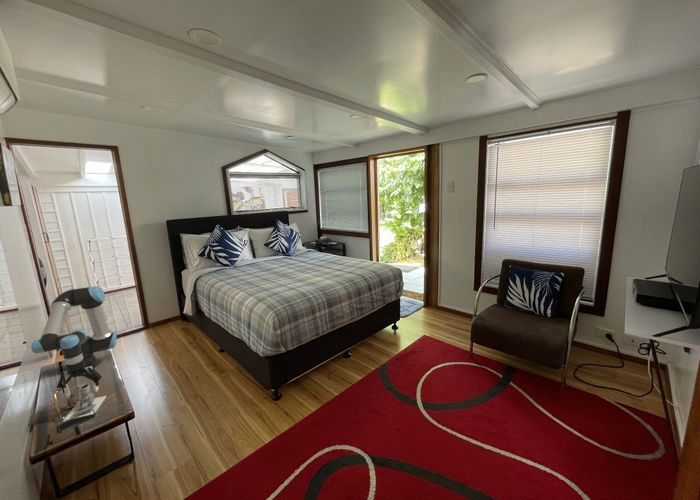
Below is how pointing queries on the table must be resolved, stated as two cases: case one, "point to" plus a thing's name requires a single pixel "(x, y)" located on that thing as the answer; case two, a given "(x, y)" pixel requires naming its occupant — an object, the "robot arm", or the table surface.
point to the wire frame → (59, 417)
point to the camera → (85, 399)
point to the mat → (97, 401)
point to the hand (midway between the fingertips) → (82, 393)
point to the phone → (74, 422)
